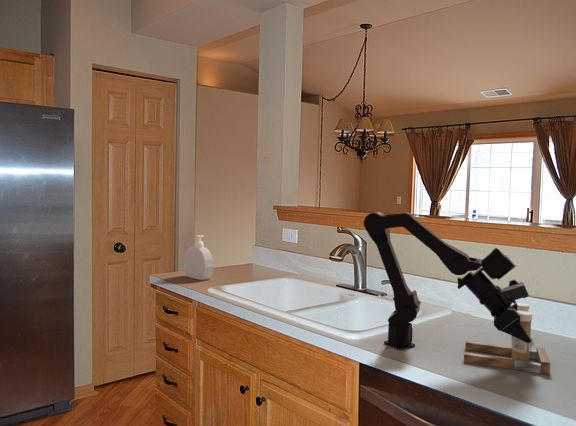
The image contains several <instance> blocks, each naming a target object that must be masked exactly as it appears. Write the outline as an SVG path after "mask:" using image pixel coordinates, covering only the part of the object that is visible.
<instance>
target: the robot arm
mask: <svg viewBox="0 0 576 426" xmlns="http://www.w3.org/2000/svg"><path fill="white" fill-rule="evenodd" d="M363 227H364V228H365V231H366V232H367V235H368V236H369V237H370V239H371V241H373V243H374V244H375V245H376V247H377V250H378V254H379V257H380V258H381V262H382V264H383V267H384V270H385V272H386V275H387V278H388V281H389V284H390V286H391V288H392V291H393V304H394V309H395V310H394V311H392V313H391V315H389V317H388V319H387V323H388V329H387V333H388V334H387V340H384V341H383V344H385V345H387V346H390V347H392V348H394V349H397V350H403V349H408V348H409V349H410V348H412V347H416V343H413V322H414V320H416V319H417V316H418V314H419V312H420V308H421V307H420V306H421V304H422V302H421V301H420V300H419V297H418V292H417V290H416V289H414V290H412V291H411V289H410V288H409V286H408V285H407V282H406V279H405V277H404V274H403V271H402V268H401V266H400V263H399V260H398V257H397V254H396V251H395V249H394V247H393V244H392V241H391V231H390V229H395V228H403V229H405V230H406V231H408V232H409V233H410V234H411V235H413V237H415V238H416V239H417V240H418V241H420V242H421V243H422V244H424V246H426V247H427V248H429V249H430V250H431V251H432V252H433V253H434V254H435V255H436V256H437V257H438V258H439V260H440V261H441V263H442V264H443V265H444V266H445V267H446V269H448V270H449V272H450V273H451V274H453V275H455V276H459V277H457V279H456V280H457V289H458V290H460V289H462V288H463V287H464V286H466V288H467V289H468V290H469V291H470V292H471V293H472V294H473V295H474V296H475V297H476V298H477V299H478V300H479V301H478V303H479V304H480V305H481V306H484V307H485V308H486V309H487V311H488V312H490V315H491V316H492V318H493V326H494V327H495V328H496V329H497V331H499V332H501V333H505V334H507V335H510V337H512V336H514V337H516V338H518V339H520V340H522V341H524V342H526V343H530V342H532V338H531V337H530V338H529V336H528V335H527V333H526V332H525V330H524V329H523V327H522V326H521V324H520V314H519V313H518V312H517V303H518V302H517V300H520V299H526V298H528V297H529V296H530V295H529V292H528V290H527V289H526V285H525V282H522V281H517V280H516V279H511V280H509V281H508V285H507V286H506V287H504V288H501V287H500V286H499V285H495V284H494V282H492V281H491V280H496V279H497V280H498V281H499V280H501V279H502V278H504V277H505V276H506V275H507V274H509V273H510V272H511V271H513V270H514V269H515V268H516V267H517V266H516V265H515V264H514V262H513V260H511V258H510V257H508V255H506V254H504V253H503V251H501V250H500V249H499V248H498V247H495V248H493V249H492V250H491V251H490V252H489V253H488V255H486V256H485V257H484V258H483V259H482V258H481V259H480V258H476V257H472V256H469V255H468V253H465V252H464V251H462V250H460V249H458V248H457V247H455V246H453V245H450V244H449V243H448V242H445V241H444V240H443V239H441V238H440V237H439V236H438V235H437V234H436V233H434V232H433V231H432V230H431V229H429V228H428V227H427V226H426V225H424V224H423V223H422V222H421V221H419V220H418V219H417V218H415V217H414V216H413V214H412V213H410V212H402V213H389V214H385V213H384V212H382V211H375V212H371V213H368V214H367V215H366V216H365V217H364V220H363ZM472 271H473V272H472ZM474 271H475V272H474ZM463 275H464V276H463ZM460 276H463V277H460ZM411 322H412V323H411ZM530 344H531V343H530Z"/></svg>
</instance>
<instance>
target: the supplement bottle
mask: <svg viewBox="0 0 576 426" xmlns="http://www.w3.org/2000/svg"><path fill="white" fill-rule="evenodd" d="M516 303H517V311H527V312H530V311H529V310H530V304H528V303H524V302H516Z"/></svg>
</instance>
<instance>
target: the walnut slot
mask: <svg viewBox="0 0 576 426" xmlns="http://www.w3.org/2000/svg"><path fill="white" fill-rule="evenodd" d="M464 348H465V350H469V351H474V352H475V351H476V352H483V353H488V354H489V353H490V354H496V355H504V356H510V357H512V346H507V345H501V344H500V345H499V344H493V343H485V342H479V341H478V342H477V341H472V340H465V347H464ZM535 348H536V349H531V348H530V360H532V359H533V360H536V362H535V361H534V362H532V361H530V362H527V361H520V360H513V359H511V358H505V357H498V356H491V355H484V354H479V353H470V352H464V353H463V362H464V363H471V364H477V365H482V366H483V365H484V366H490V367H494V368H495V367H496V368H503V369H509V370H517V371H523V372H530V373H536V374H542V375H550V374H551V371H550V370H551V361H550V359H549V355H548V353H547V350H546V348H545V347H544V346H543V347H541V346H536V347H535Z"/></svg>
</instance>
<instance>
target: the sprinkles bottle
mask: <svg viewBox="0 0 576 426" xmlns="http://www.w3.org/2000/svg"><path fill="white" fill-rule="evenodd" d="M517 312H518V313H519V314H520V324H521V326H522V327H523V329H524V330H525V332H526V333H527V335H528V336H529V338H530V339H531V332H532V331H531V330H532V320H533V314H532V312H530V311H529V312H527V311H517ZM531 342H532V341H531ZM531 342H530V343H526V342H524V341H522V340H520V339H518V338H516V337H514V336H511V347H512V356H511V358H510V359H513V360H520V361H527V362H531V358H530V349H531V344H532V343H531Z"/></svg>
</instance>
